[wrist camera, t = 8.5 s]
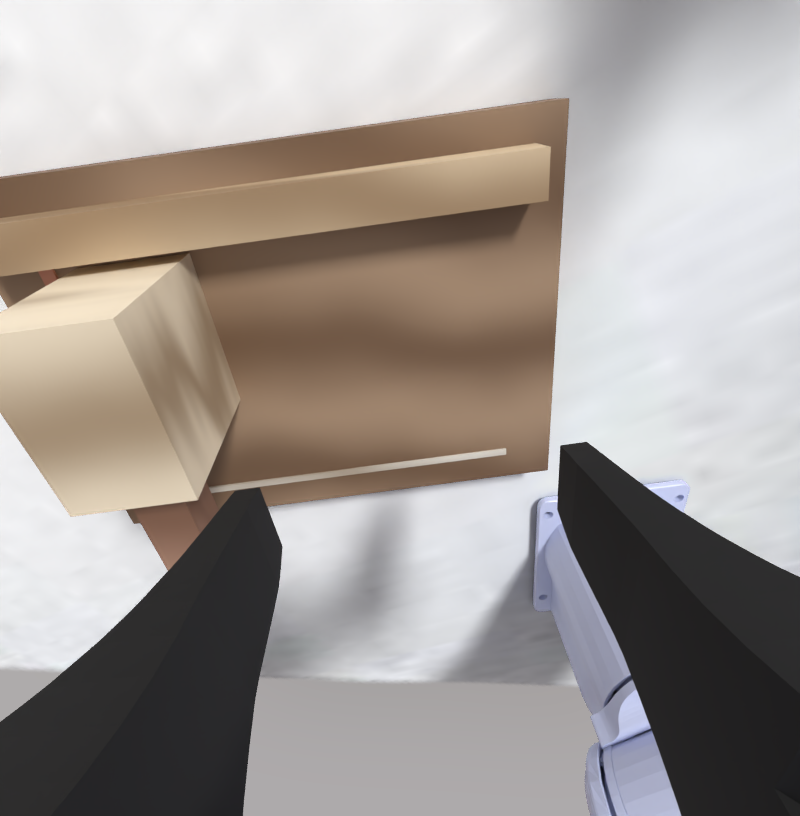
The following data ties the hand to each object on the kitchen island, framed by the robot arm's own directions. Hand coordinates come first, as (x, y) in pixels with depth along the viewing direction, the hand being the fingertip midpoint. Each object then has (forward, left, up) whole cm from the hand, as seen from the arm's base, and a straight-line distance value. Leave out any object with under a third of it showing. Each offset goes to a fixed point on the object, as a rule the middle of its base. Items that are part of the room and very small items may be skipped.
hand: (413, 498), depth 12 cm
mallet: (-1, +9, -9) cm, 12 cm away
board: (0, +4, -10) cm, 11 cm away
